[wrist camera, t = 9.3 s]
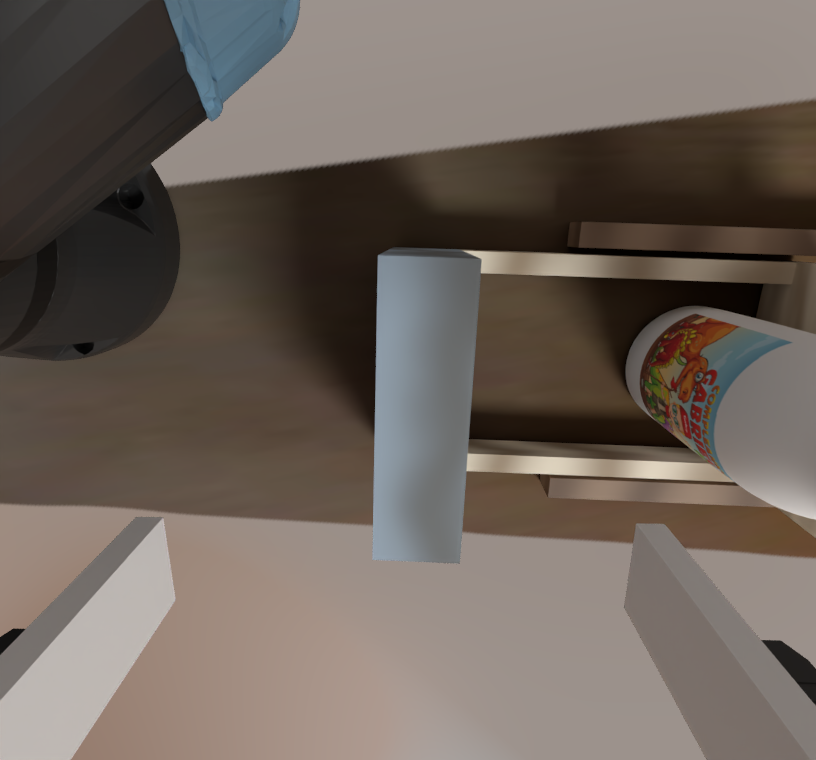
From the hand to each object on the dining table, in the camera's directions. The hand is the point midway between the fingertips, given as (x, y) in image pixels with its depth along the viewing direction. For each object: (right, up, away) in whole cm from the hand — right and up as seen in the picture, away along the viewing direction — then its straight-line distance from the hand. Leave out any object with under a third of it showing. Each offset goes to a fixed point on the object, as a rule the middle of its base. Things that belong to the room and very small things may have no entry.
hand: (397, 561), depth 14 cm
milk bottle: (+18, +6, +19) cm, 27 cm away
